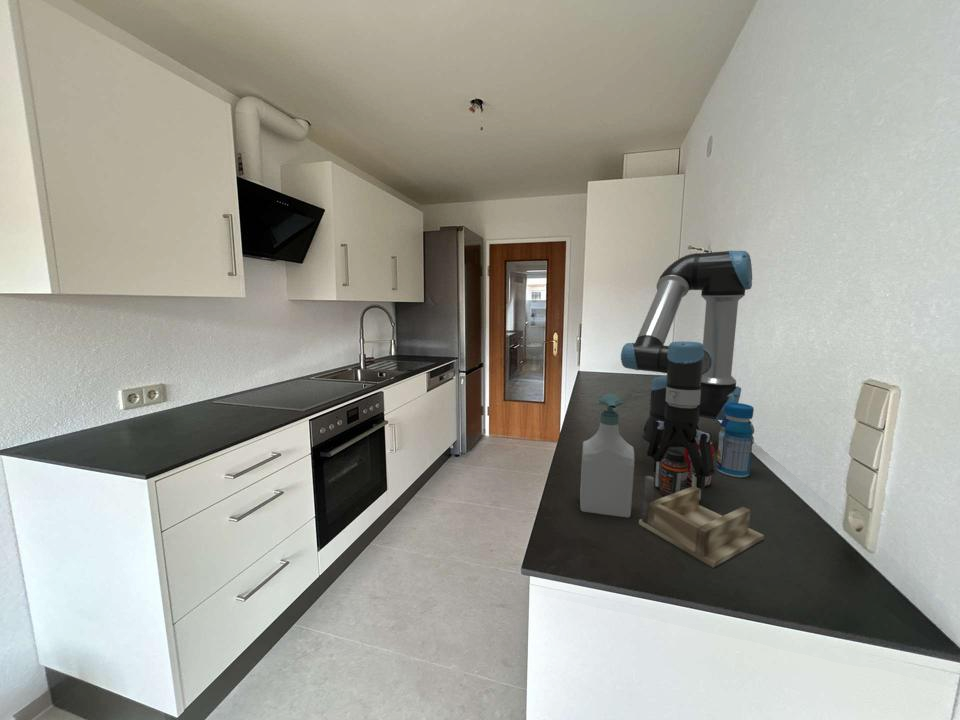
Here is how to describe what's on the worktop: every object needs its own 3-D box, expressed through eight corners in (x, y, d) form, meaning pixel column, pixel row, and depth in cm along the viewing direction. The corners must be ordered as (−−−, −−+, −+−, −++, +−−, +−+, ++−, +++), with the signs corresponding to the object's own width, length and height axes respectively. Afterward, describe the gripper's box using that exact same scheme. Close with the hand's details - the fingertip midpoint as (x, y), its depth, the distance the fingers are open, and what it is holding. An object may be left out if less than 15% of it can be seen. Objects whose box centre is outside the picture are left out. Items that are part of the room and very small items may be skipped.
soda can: (678, 482, 103) (681, 440, 102) (685, 474, 108) (689, 434, 107) (707, 491, 98) (712, 447, 97) (713, 482, 104) (718, 440, 102)
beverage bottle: (732, 479, 105) (739, 409, 103) (708, 467, 114) (714, 402, 111) (757, 477, 107) (765, 408, 104) (731, 465, 115) (738, 401, 112)
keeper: (688, 504, 92) (692, 460, 90) (763, 539, 78) (769, 489, 77) (638, 524, 83) (642, 476, 82) (713, 567, 69) (719, 511, 68)
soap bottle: (580, 515, 86) (586, 398, 83) (579, 497, 94) (585, 390, 91) (631, 522, 84) (640, 401, 80) (626, 503, 92) (634, 393, 88)
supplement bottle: (653, 491, 98) (657, 449, 97) (670, 487, 101) (673, 446, 99) (673, 502, 93) (677, 458, 91) (690, 497, 95) (694, 454, 94)
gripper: (634, 398, 100) (630, 479, 103) (719, 416, 82) (712, 515, 84) (652, 395, 104) (648, 474, 107) (738, 412, 86) (730, 507, 88)
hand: (676, 492), depth 95 cm, fingers open, 9 cm apart
